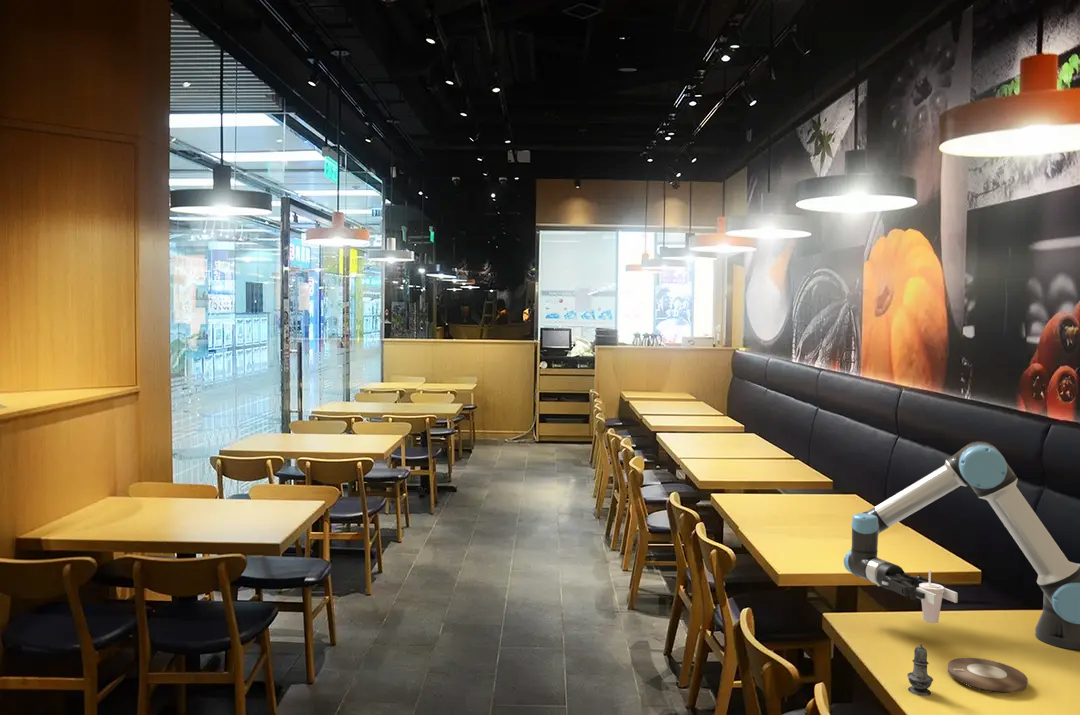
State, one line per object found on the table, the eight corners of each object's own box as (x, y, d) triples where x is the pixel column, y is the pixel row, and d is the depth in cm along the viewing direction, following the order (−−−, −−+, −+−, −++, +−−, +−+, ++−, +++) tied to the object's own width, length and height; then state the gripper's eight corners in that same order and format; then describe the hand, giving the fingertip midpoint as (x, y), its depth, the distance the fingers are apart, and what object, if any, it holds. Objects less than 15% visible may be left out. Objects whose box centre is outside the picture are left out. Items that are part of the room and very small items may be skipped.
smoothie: (921, 615, 226) (922, 565, 226) (946, 620, 222) (947, 570, 222) (915, 621, 221) (916, 570, 221) (940, 626, 217) (941, 575, 217)
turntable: (1004, 664, 215) (1004, 658, 215) (1042, 693, 197) (1042, 687, 197) (935, 661, 216) (935, 655, 216) (967, 690, 198) (967, 684, 198)
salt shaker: (935, 697, 196) (937, 649, 196) (910, 695, 197) (911, 646, 197) (929, 687, 202) (930, 640, 202) (904, 685, 203) (905, 638, 203)
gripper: (912, 584, 242) (974, 609, 219) (858, 589, 236) (916, 615, 214) (913, 559, 241) (974, 582, 219) (858, 564, 236) (916, 587, 214)
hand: (945, 598), depth 217 cm, fingers closed on smoothie, 6 cm apart
